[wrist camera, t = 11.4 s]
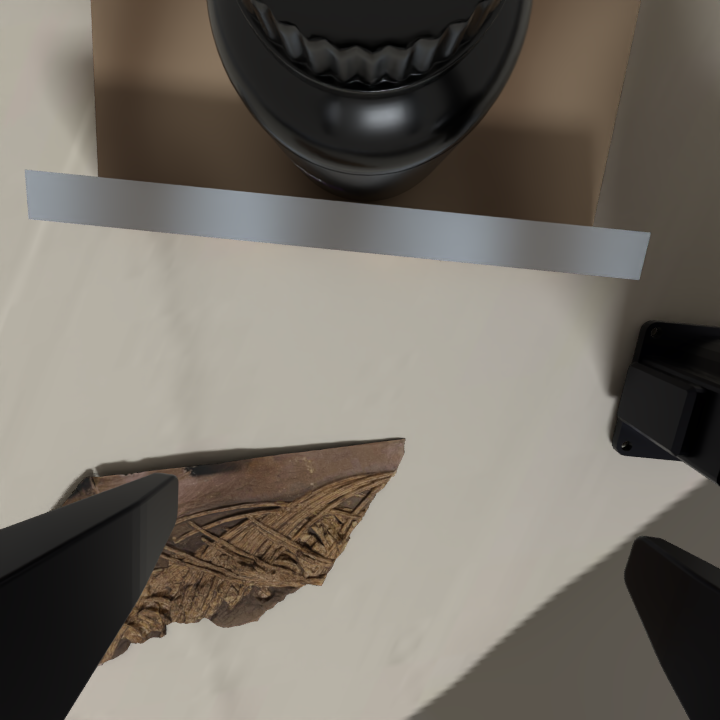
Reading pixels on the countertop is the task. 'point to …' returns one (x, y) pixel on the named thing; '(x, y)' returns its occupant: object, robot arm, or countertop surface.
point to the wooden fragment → (251, 533)
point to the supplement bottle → (368, 81)
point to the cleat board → (335, 214)
